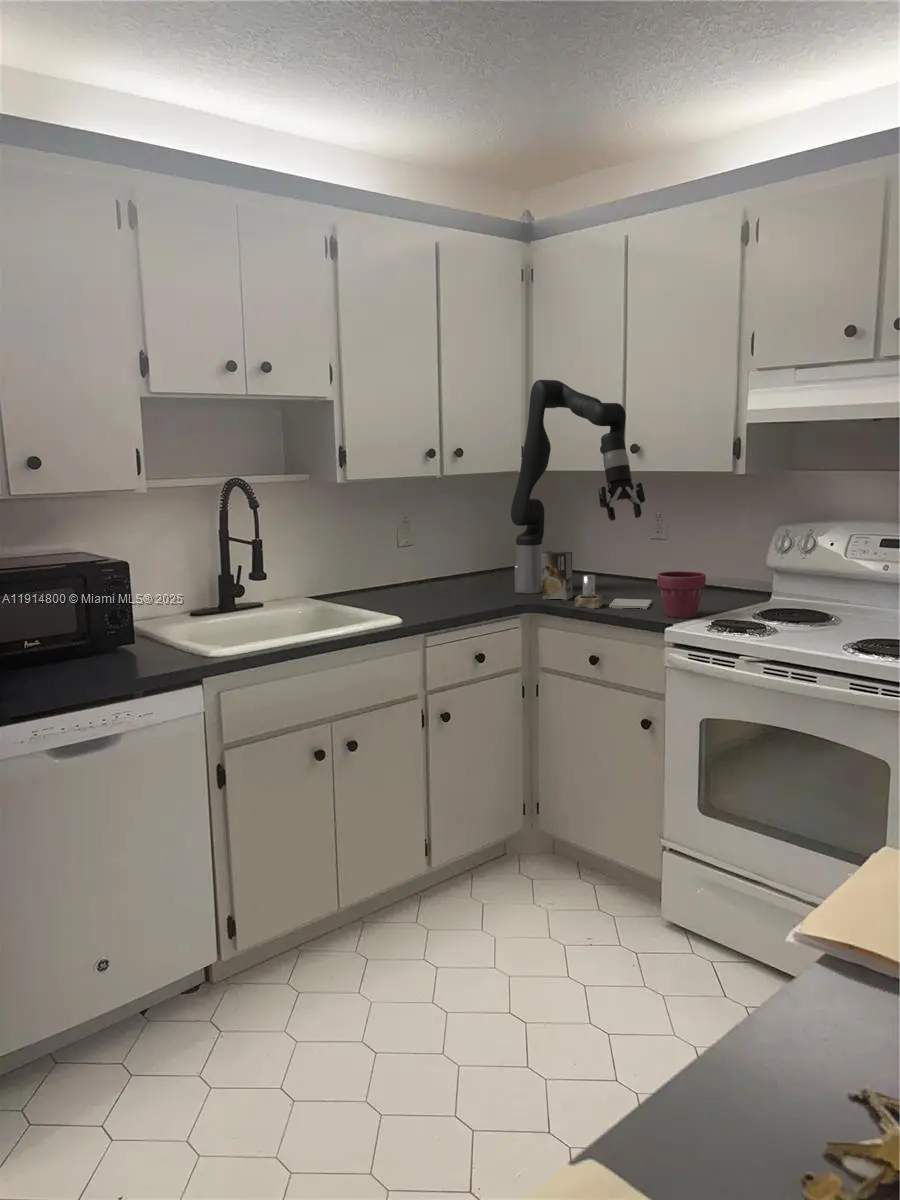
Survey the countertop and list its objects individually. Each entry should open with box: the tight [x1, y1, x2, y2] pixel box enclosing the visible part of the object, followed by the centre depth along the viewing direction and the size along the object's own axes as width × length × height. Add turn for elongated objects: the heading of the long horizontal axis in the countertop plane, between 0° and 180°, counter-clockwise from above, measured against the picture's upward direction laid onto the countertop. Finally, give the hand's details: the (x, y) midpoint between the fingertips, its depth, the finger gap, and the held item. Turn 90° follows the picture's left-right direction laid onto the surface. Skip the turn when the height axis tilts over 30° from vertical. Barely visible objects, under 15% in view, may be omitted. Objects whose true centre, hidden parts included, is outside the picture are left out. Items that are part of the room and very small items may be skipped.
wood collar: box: [574, 594, 603, 609], centre depth 289 cm, size 8×8×3 cm
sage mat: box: [608, 598, 653, 610], centre depth 288 cm, size 12×12×1 cm
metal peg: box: [582, 574, 596, 599], centre depth 288 cm, size 4×4×10 cm
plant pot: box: [656, 570, 707, 619], centre depth 268 cm, size 14×14×13 cm
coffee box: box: [542, 550, 574, 601], centre depth 303 cm, size 9×6×16 cm
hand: (625, 518), depth 270 cm, fingers open, 8 cm apart
